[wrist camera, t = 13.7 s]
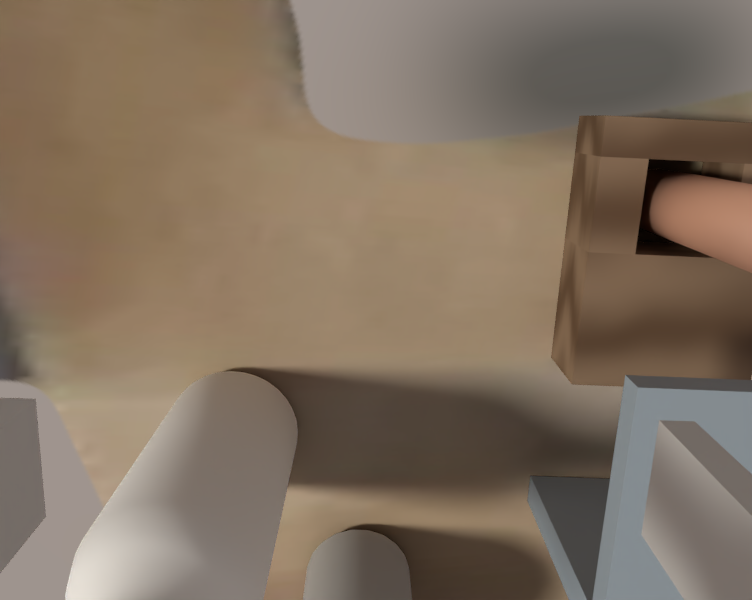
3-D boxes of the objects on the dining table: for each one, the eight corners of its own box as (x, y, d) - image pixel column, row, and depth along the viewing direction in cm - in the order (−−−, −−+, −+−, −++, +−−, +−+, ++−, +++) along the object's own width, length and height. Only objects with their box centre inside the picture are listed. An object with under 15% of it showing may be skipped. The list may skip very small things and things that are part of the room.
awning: (550, 300, 47) (637, 387, 32) (727, 308, 47) (897, 397, 32) (526, 513, 51) (593, 680, 36) (689, 519, 51) (824, 687, 36)
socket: (579, 115, 44) (605, 115, 39) (752, 124, 44) (800, 125, 39) (551, 357, 48) (572, 384, 43) (709, 363, 48) (748, 391, 43)
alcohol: (232, 341, 47) (16, 696, 18) (325, 426, 49) (263, 876, 20) (146, 425, 49) (-179, 879, 20) (239, 505, 50) (66, 1033, 21)
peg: (628, 166, 45) (768, 193, 29) (690, 170, 45) (861, 197, 29) (620, 229, 46) (750, 286, 30) (680, 231, 46) (841, 290, 30)
